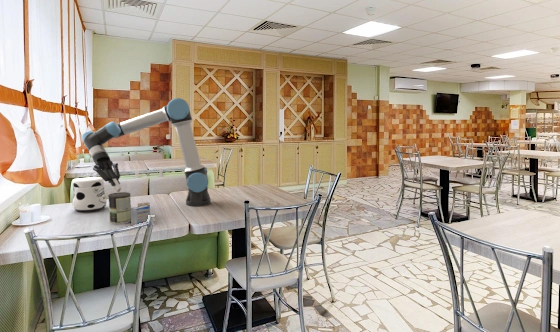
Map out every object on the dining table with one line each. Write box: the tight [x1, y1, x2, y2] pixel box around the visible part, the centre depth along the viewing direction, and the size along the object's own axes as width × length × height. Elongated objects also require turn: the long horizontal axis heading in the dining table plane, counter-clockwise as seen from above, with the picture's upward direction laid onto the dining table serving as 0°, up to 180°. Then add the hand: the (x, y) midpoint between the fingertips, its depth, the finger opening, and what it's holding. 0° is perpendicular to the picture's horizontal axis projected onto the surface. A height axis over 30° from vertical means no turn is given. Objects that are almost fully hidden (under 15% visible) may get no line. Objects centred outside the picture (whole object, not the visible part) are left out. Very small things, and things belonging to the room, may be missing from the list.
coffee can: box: [107, 191, 132, 225], centre depth 176 cm, size 10×10×14 cm
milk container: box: [72, 176, 108, 212], centre depth 200 cm, size 17×17×18 cm
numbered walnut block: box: [137, 202, 151, 207], centre depth 185 cm, size 6×6×7 cm
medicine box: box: [130, 205, 151, 226], centre depth 172 cm, size 8×4×9 cm, turn 148°
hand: (119, 190), depth 175 cm, fingers closed
